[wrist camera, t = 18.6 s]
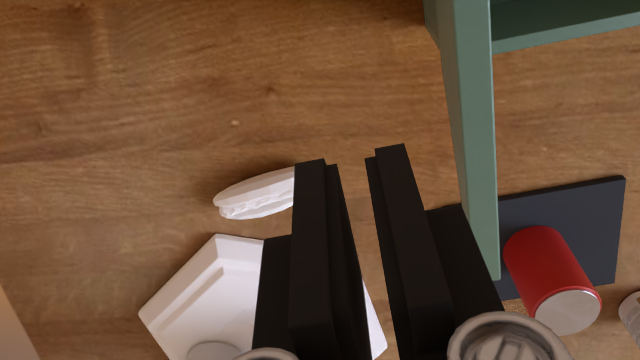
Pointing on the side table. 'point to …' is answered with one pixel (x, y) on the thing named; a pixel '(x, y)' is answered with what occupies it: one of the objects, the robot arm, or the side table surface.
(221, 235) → the white toy figurine
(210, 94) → the side table surface
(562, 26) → the storage box
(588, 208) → the mat
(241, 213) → the white oval capsule
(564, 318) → the can
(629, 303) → the pill bottle
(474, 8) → the lid
